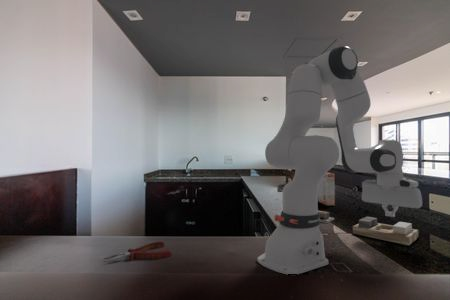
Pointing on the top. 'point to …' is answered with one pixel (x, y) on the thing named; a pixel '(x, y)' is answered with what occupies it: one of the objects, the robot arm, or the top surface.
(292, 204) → the robot arm
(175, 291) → the top surface
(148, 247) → the pliers
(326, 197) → the cracker box
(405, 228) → the white rectangular block
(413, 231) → the rack
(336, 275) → the top surface
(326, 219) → the packaged product
